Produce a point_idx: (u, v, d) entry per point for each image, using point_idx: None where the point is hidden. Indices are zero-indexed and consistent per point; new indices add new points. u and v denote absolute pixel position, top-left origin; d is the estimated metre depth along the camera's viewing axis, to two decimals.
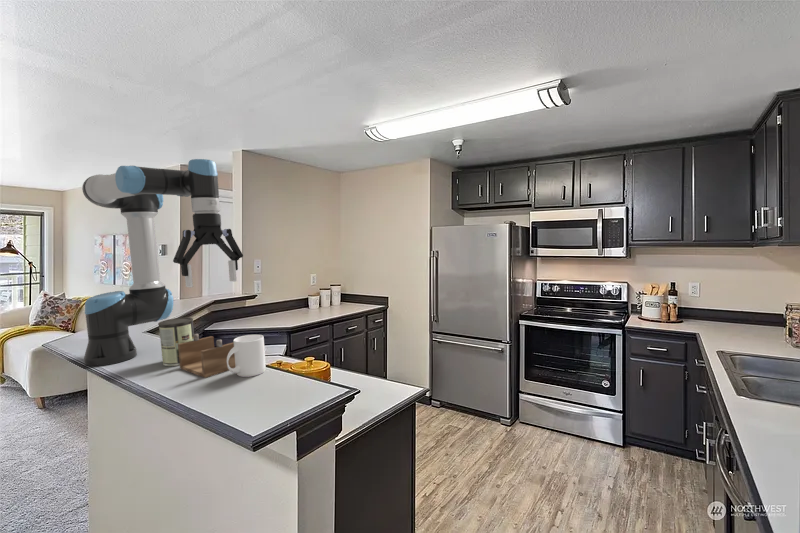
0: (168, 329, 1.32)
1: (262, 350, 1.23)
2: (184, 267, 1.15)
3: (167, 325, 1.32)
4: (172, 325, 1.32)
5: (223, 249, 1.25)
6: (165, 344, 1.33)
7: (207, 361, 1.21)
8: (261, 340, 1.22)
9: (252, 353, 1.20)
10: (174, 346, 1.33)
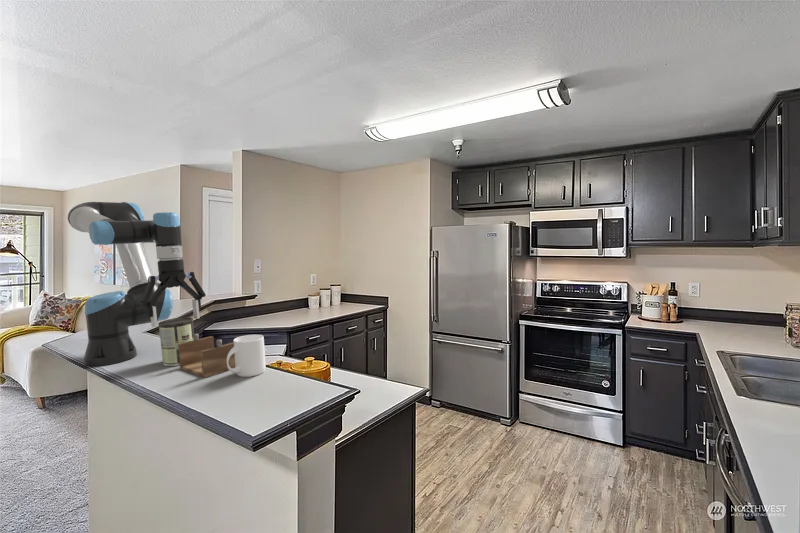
0: (168, 329, 1.32)
1: (262, 350, 1.23)
2: (149, 309, 1.29)
3: (167, 325, 1.32)
4: (172, 325, 1.32)
5: (187, 290, 1.39)
6: (165, 344, 1.33)
7: (207, 361, 1.21)
8: (261, 340, 1.22)
9: (252, 353, 1.20)
10: (174, 346, 1.33)
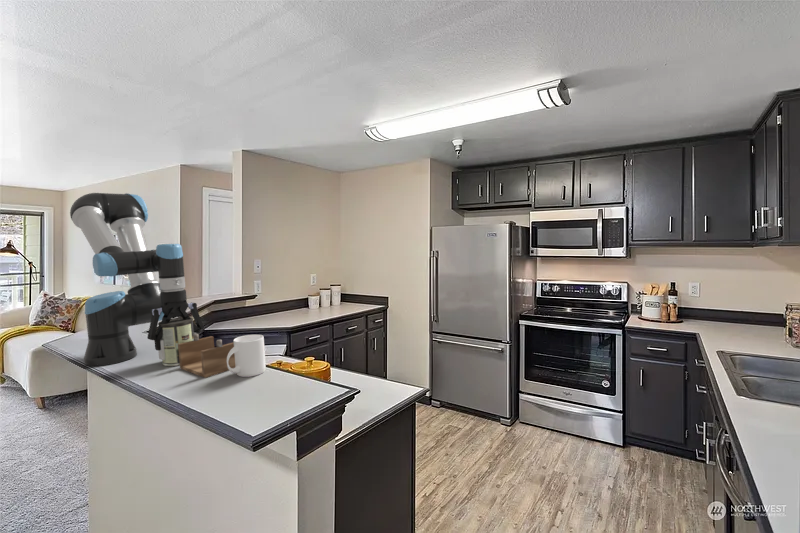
0: (168, 329, 1.32)
1: (262, 350, 1.23)
2: (157, 343, 1.32)
3: (167, 325, 1.32)
4: (172, 325, 1.32)
5: None
6: (164, 344, 1.33)
7: (207, 361, 1.21)
8: (261, 340, 1.22)
9: (252, 353, 1.20)
10: (174, 345, 1.33)
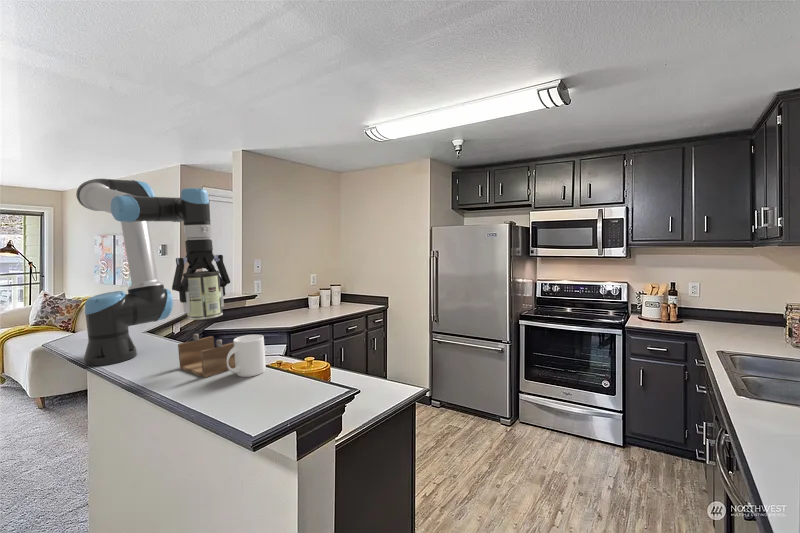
0: (194, 279, 1.22)
1: (262, 350, 1.23)
2: (182, 294, 1.22)
3: (193, 275, 1.22)
4: (198, 275, 1.22)
5: None
6: (190, 295, 1.23)
7: (207, 361, 1.21)
8: (261, 340, 1.22)
9: (252, 353, 1.20)
10: (200, 297, 1.23)
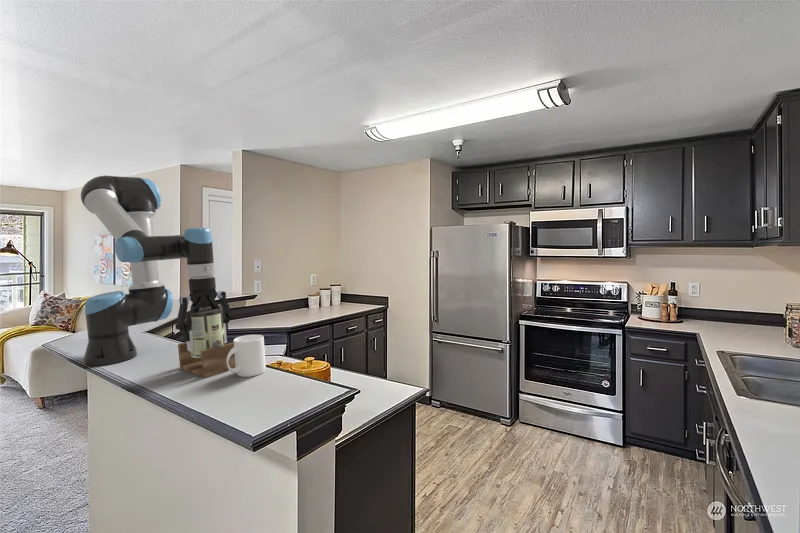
0: (197, 319, 1.23)
1: (262, 350, 1.23)
2: (186, 333, 1.23)
3: (196, 314, 1.23)
4: (202, 314, 1.23)
5: None
6: (193, 334, 1.24)
7: (207, 361, 1.21)
8: (261, 340, 1.22)
9: (252, 353, 1.20)
10: (203, 336, 1.24)
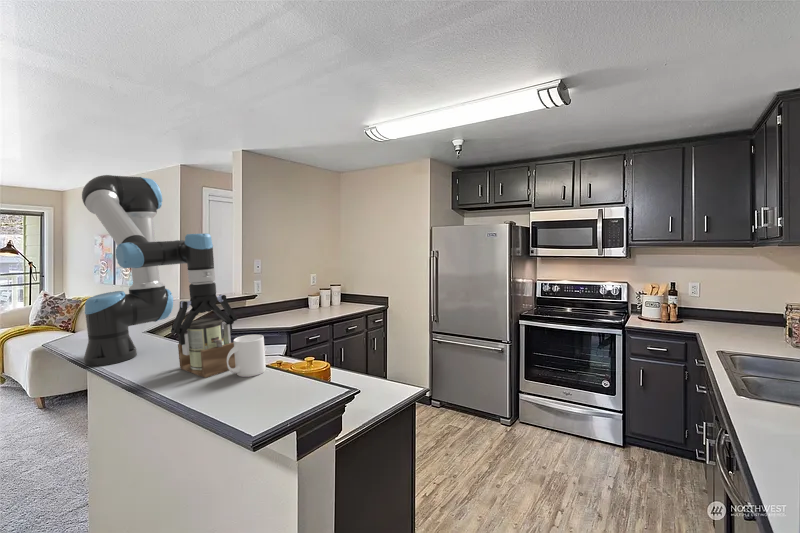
0: (197, 331, 1.23)
1: (262, 350, 1.23)
2: (181, 337, 1.22)
3: (196, 326, 1.23)
4: (201, 326, 1.23)
5: (218, 314, 1.32)
6: (193, 346, 1.24)
7: (207, 361, 1.21)
8: (261, 340, 1.22)
9: (252, 353, 1.20)
10: (203, 348, 1.24)
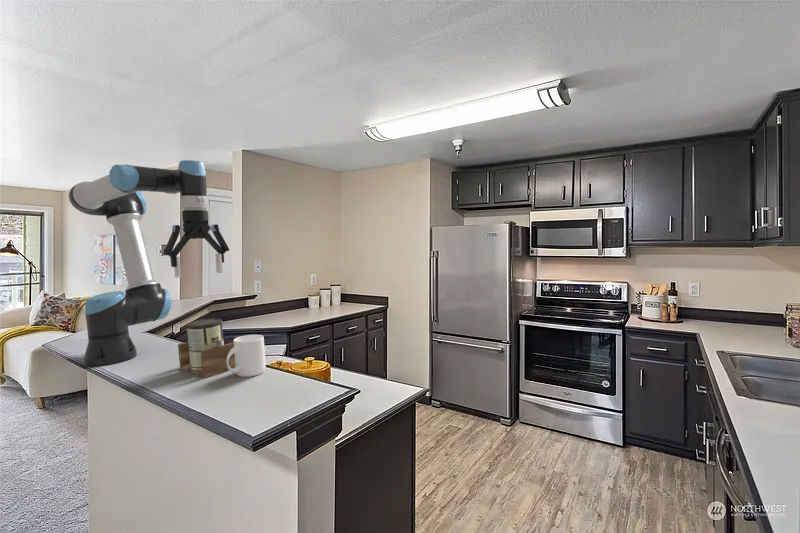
0: (197, 331, 1.24)
1: (262, 350, 1.23)
2: (173, 259, 1.26)
3: (196, 326, 1.23)
4: (201, 326, 1.23)
5: (210, 243, 1.36)
6: (193, 346, 1.24)
7: (207, 361, 1.21)
8: (261, 340, 1.22)
9: (252, 353, 1.20)
10: (203, 348, 1.24)
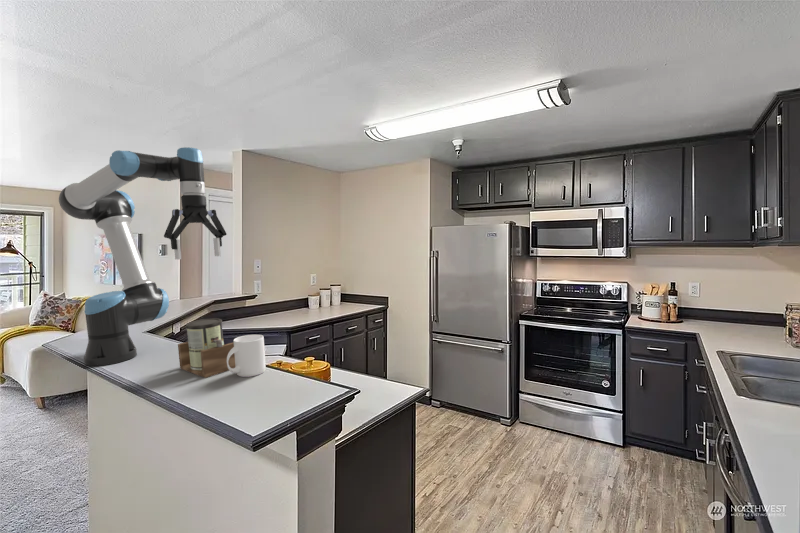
0: (197, 331, 1.23)
1: (262, 350, 1.23)
2: (173, 241, 1.32)
3: (196, 326, 1.23)
4: (201, 326, 1.23)
5: (208, 227, 1.42)
6: (193, 346, 1.24)
7: (207, 361, 1.21)
8: (261, 340, 1.22)
9: (252, 353, 1.20)
10: (203, 348, 1.24)
